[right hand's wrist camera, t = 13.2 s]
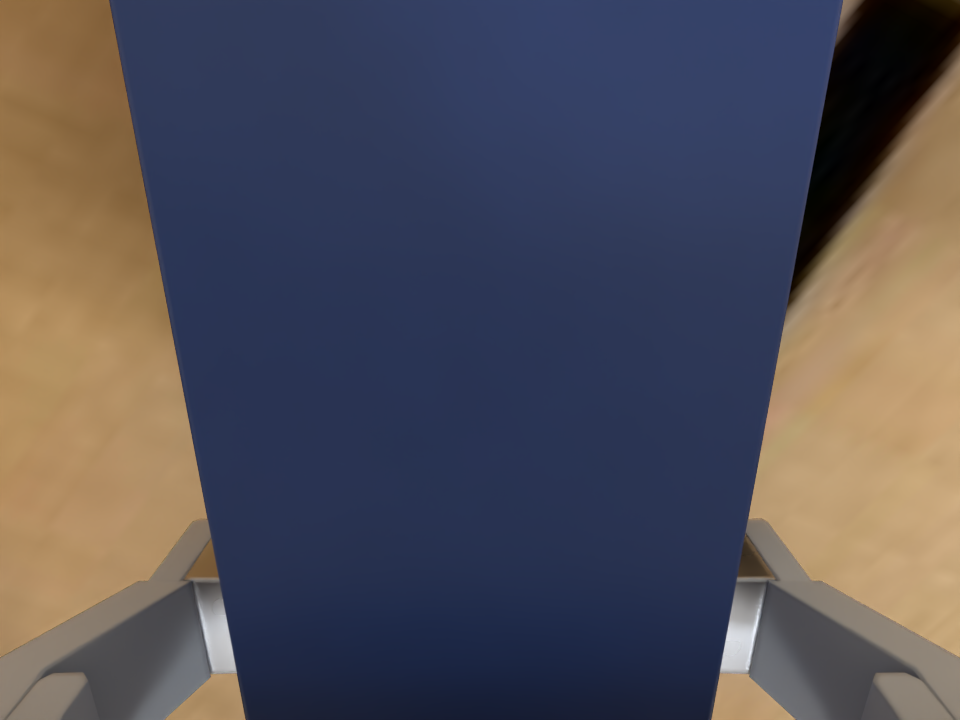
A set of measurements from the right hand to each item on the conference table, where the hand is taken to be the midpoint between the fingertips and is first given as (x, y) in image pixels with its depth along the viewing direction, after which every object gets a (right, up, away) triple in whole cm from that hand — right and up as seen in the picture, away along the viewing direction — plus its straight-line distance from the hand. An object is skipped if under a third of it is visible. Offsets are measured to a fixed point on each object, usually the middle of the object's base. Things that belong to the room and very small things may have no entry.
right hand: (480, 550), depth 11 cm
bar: (0, +9, +2) cm, 10 cm away
